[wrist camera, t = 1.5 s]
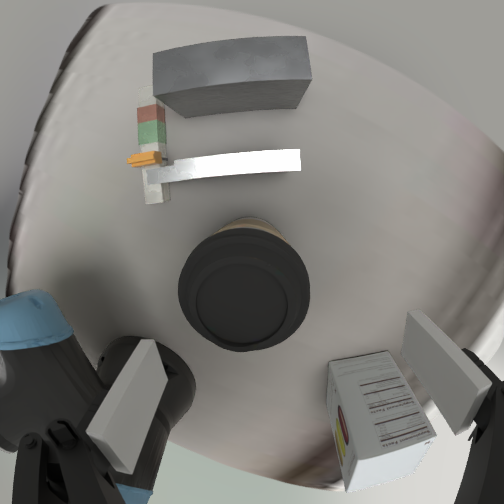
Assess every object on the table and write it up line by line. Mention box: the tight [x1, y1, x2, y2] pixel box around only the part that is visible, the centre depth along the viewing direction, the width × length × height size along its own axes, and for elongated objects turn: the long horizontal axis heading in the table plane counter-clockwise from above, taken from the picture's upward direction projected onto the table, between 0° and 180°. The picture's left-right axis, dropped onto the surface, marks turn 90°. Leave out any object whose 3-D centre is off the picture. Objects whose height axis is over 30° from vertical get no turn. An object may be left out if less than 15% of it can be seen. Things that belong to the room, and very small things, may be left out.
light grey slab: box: [146, 149, 301, 185], centre depth 24 cm, size 14×2×10 cm, turn 94°
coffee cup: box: [178, 217, 310, 352], centre depth 24 cm, size 9×9×15 cm
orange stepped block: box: [127, 151, 162, 167], centre depth 25 cm, size 3×1×3 cm, turn 94°
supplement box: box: [326, 351, 437, 492], centre depth 28 cm, size 10×9×17 cm
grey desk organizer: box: [137, 36, 312, 205], centre depth 23 cm, size 17×13×10 cm
